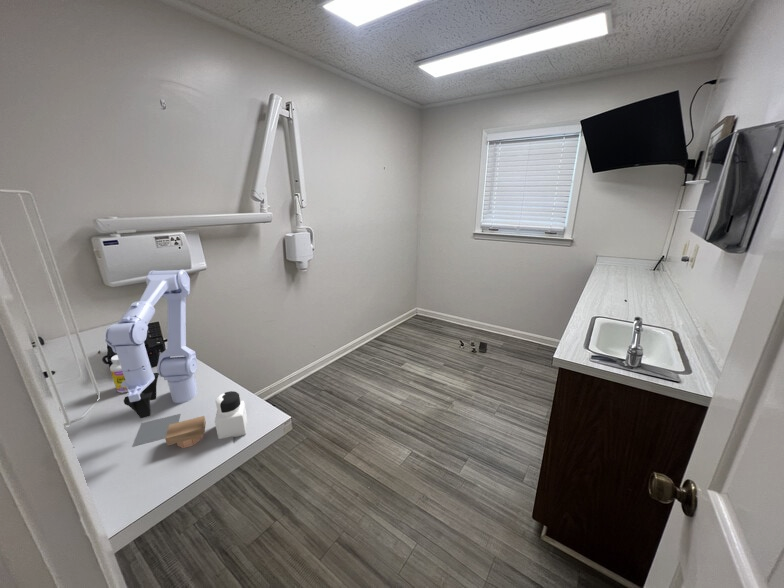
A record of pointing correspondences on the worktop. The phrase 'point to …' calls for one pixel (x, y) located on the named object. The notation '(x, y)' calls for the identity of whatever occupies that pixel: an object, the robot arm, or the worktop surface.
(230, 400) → the medicine bottle
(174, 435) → the tan cardboard box
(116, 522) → the worktop surface
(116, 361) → the supplement bottle
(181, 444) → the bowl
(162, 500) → the worktop surface
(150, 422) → the mat
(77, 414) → the worktop surface
